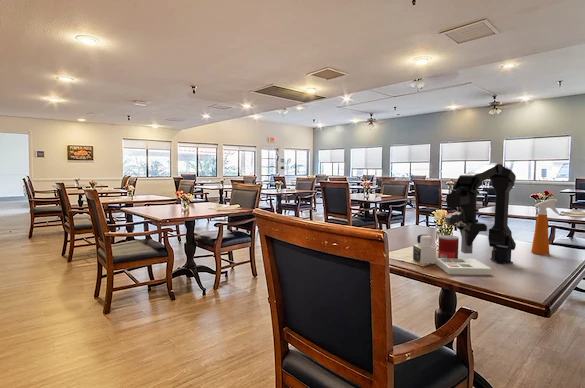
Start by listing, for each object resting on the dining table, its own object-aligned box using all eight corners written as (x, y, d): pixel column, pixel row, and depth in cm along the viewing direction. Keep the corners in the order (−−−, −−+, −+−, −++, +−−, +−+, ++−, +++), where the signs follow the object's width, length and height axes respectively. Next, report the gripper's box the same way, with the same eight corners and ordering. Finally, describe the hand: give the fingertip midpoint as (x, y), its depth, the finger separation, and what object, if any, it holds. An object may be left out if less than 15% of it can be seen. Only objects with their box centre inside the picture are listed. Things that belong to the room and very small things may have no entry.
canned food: (460, 263, 145) (460, 238, 145) (440, 262, 147) (441, 238, 146) (455, 259, 153) (456, 235, 152) (436, 258, 155) (437, 234, 154)
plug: (468, 251, 135) (469, 227, 134) (472, 253, 132) (473, 228, 132) (461, 251, 136) (461, 227, 135) (464, 253, 133) (465, 228, 132)
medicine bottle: (412, 259, 152) (413, 233, 151) (427, 259, 153) (428, 233, 152) (420, 264, 145) (420, 237, 144) (435, 264, 145) (436, 236, 144)
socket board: (474, 264, 144) (474, 258, 144) (491, 274, 131) (491, 267, 130) (435, 263, 145) (436, 257, 145) (448, 274, 132) (448, 267, 131)
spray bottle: (561, 256, 157) (564, 199, 154) (534, 254, 160) (537, 199, 158) (555, 252, 163) (558, 198, 161) (529, 250, 167) (531, 197, 165)
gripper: (438, 203, 142) (437, 239, 143) (457, 209, 124) (455, 250, 125) (465, 203, 141) (464, 239, 143) (488, 209, 123) (487, 251, 124)
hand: (467, 245), depth 134 cm, fingers closed on plug, 3 cm apart
